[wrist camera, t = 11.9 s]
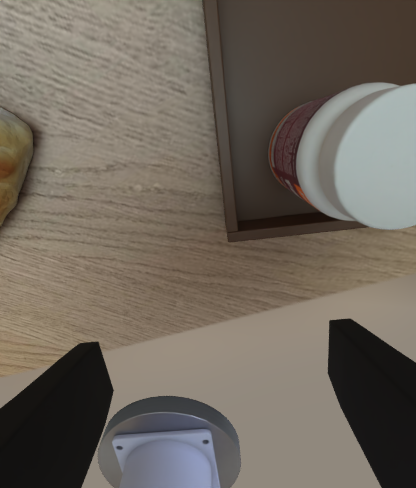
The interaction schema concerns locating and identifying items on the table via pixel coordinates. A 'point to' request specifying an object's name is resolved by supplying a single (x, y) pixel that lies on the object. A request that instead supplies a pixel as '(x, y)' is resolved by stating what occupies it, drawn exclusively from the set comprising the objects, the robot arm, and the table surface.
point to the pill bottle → (352, 154)
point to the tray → (291, 90)
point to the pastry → (13, 159)
